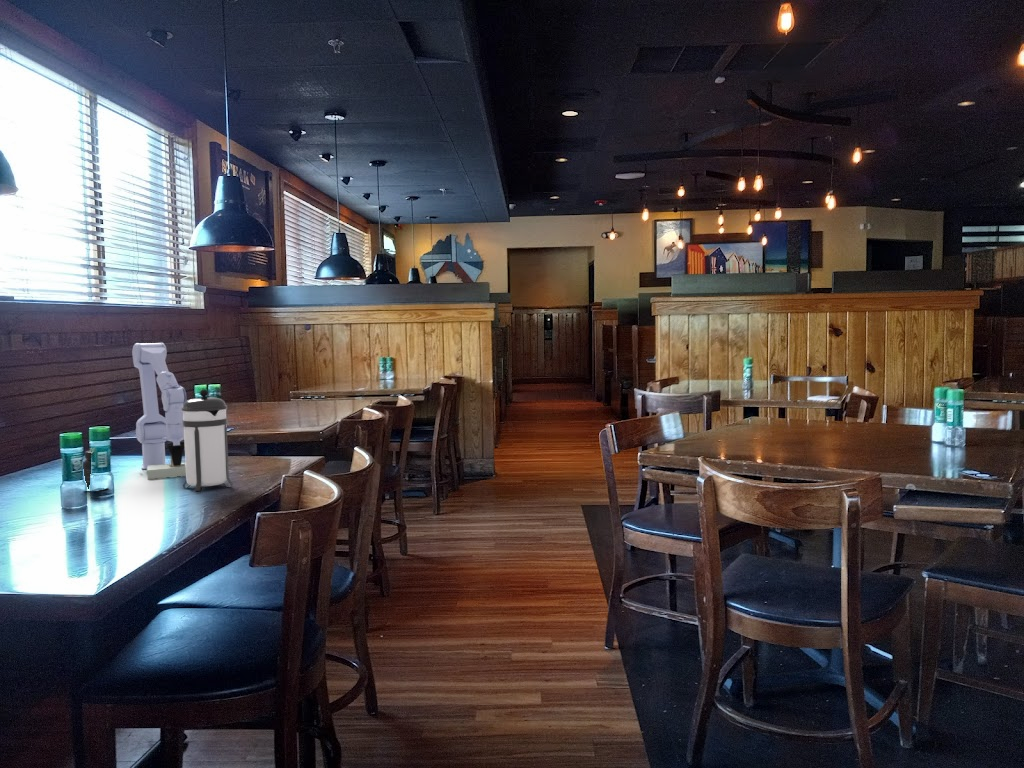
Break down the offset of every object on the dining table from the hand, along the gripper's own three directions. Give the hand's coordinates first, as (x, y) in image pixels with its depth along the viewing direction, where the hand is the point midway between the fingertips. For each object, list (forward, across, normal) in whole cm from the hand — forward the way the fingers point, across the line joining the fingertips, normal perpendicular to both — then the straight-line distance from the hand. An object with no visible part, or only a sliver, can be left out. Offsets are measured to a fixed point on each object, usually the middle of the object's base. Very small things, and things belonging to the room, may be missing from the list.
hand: (177, 464), depth 253 cm
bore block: (+3, 0, 0) cm, 3 cm away
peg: (+3, 0, 0) cm, 3 cm away
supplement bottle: (+4, +16, -23) cm, 28 cm away
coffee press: (+4, +29, +7) cm, 30 cm away
